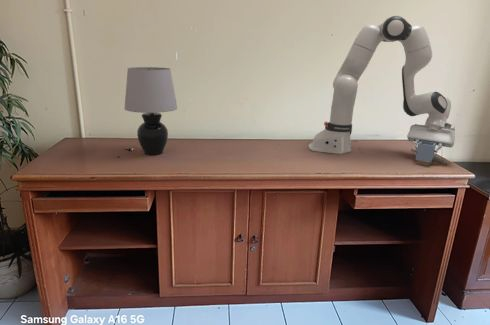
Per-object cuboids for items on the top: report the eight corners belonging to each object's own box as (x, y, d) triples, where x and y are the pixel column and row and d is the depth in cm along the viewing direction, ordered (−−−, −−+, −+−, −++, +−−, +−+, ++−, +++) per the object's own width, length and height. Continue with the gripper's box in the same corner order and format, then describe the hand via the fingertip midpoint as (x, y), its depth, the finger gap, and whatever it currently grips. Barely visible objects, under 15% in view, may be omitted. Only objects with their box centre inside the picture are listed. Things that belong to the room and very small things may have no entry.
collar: (430, 162, 164) (433, 145, 162) (415, 159, 168) (418, 143, 166) (432, 159, 169) (436, 143, 167) (418, 156, 173) (421, 140, 171)
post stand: (428, 166, 165) (431, 154, 163) (415, 164, 169) (417, 151, 167) (431, 163, 170) (433, 151, 168) (417, 161, 173) (420, 149, 171)
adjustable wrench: (447, 164, 172) (448, 160, 171) (435, 164, 171) (435, 161, 170) (419, 149, 195) (420, 146, 195) (408, 149, 195) (408, 146, 194)
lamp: (125, 161, 159) (118, 69, 147) (130, 147, 182) (124, 66, 169) (179, 159, 164) (176, 70, 152) (177, 145, 187) (175, 67, 174)
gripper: (411, 120, 176) (402, 142, 172) (458, 126, 164) (450, 150, 160) (412, 127, 181) (403, 149, 176) (457, 134, 169) (450, 158, 165)
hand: (426, 150), depth 168 cm, fingers closed on collar, 6 cm apart
